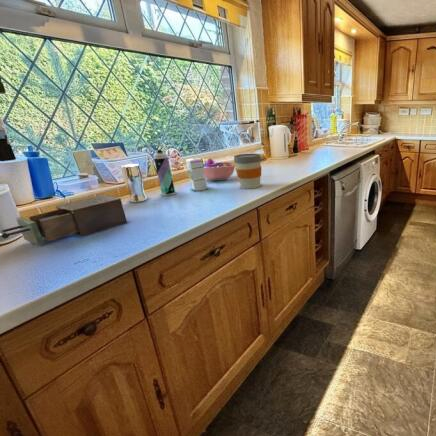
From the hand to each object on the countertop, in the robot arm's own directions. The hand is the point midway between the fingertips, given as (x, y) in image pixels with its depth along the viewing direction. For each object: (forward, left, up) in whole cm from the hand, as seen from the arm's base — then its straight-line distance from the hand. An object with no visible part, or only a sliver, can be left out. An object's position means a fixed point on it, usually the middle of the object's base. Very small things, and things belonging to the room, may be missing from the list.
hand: (1, 159), depth 82 cm
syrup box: (+64, +6, -24) cm, 69 cm away
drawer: (+2, -4, -23) cm, 24 cm away
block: (+5, -4, -22) cm, 23 cm away
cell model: (+82, +13, -24) cm, 87 cm away
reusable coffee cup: (+78, -14, -24) cm, 83 cm away
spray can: (+52, +12, -24) cm, 59 cm away
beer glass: (+40, +15, -24) cm, 49 cm away
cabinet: (+15, -4, -24) cm, 29 cm away
